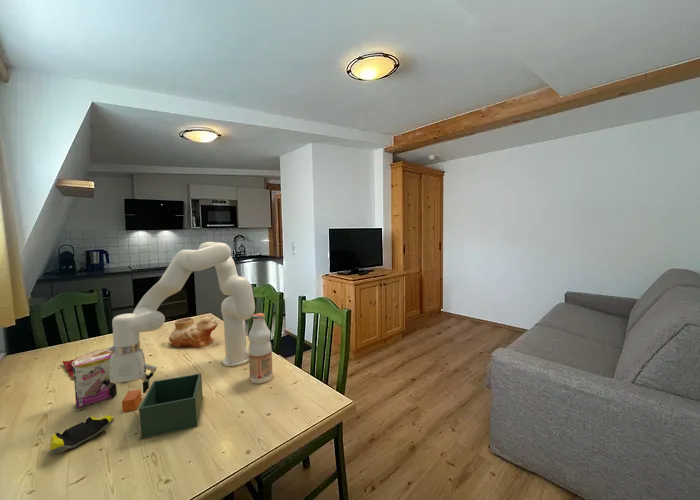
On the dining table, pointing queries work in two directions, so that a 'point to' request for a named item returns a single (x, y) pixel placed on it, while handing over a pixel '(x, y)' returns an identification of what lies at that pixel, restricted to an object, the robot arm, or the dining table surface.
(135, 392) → the orange rectangular block
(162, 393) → the trash bin
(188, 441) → the dining table surface
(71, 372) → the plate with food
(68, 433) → the black and yellow piece
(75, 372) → the candy bar box
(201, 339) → the ceramic vessel
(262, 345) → the fruit juice
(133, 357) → the robot arm
